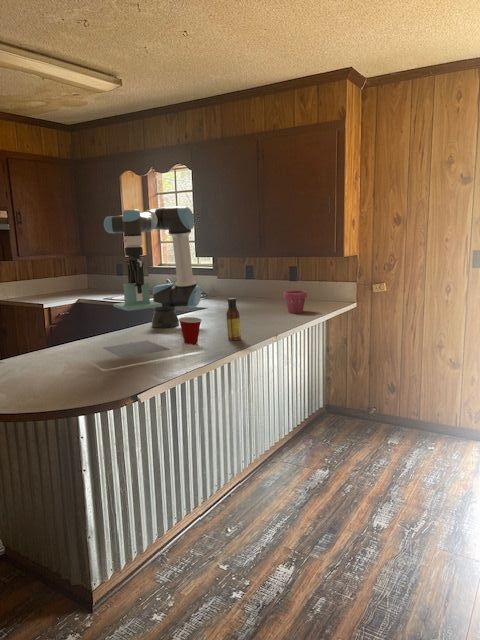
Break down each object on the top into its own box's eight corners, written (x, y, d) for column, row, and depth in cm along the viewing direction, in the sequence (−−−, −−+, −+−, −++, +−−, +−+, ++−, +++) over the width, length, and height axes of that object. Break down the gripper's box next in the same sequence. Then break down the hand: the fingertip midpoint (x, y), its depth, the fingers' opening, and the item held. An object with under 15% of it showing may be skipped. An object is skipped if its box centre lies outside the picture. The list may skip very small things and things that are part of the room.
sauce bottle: (242, 338, 236) (241, 297, 232) (238, 341, 230) (237, 299, 226) (230, 337, 238) (228, 297, 234) (225, 340, 232) (224, 299, 229)
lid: (113, 306, 217) (111, 283, 216) (146, 302, 226) (145, 280, 224) (127, 310, 204) (125, 286, 203) (162, 306, 213) (160, 283, 212)
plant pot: (282, 310, 314) (281, 290, 311) (303, 309, 315) (303, 289, 313) (286, 314, 300) (286, 293, 297) (309, 313, 301) (309, 292, 299)
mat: (102, 349, 221) (102, 347, 221) (147, 342, 234) (147, 340, 234) (123, 359, 202) (122, 357, 202) (170, 351, 215) (170, 349, 215)
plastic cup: (199, 346, 221) (198, 320, 219) (176, 346, 223) (175, 320, 221) (205, 341, 232) (204, 316, 229) (184, 341, 234) (182, 316, 232)
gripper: (117, 246, 215) (121, 299, 220) (133, 247, 202) (137, 303, 206) (133, 245, 220) (137, 297, 224) (150, 246, 206) (153, 301, 210)
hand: (137, 300), depth 215 cm, fingers closed on lid, 4 cm apart
